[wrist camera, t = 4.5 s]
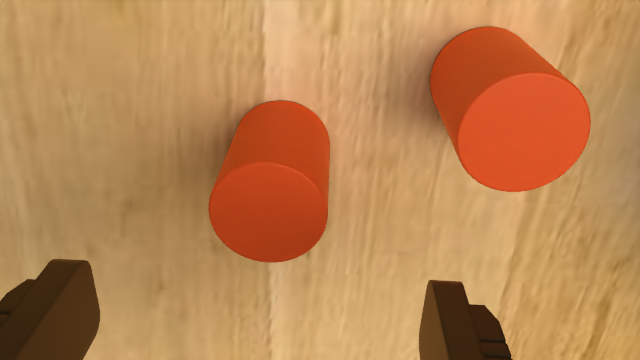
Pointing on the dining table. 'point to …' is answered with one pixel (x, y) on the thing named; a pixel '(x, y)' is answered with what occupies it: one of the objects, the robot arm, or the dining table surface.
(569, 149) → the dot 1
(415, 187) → the dining table surface
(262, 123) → the red orange cylinder
